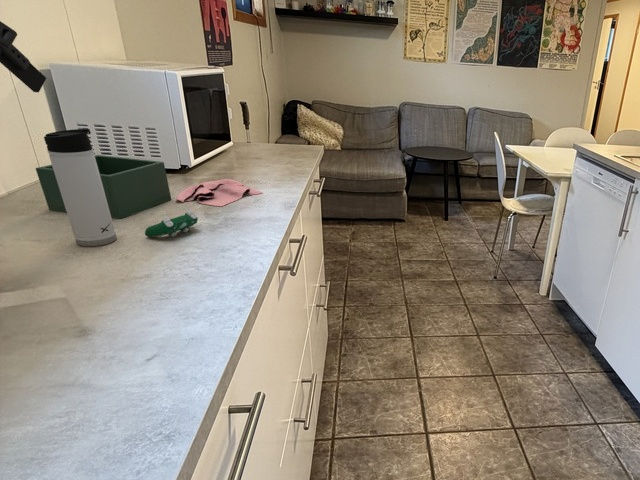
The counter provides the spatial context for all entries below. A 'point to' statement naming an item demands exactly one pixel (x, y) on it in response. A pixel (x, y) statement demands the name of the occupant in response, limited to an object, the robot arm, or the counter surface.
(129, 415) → the counter surface
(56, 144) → the travel mug
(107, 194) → the tote
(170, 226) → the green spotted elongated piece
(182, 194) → the cloth
